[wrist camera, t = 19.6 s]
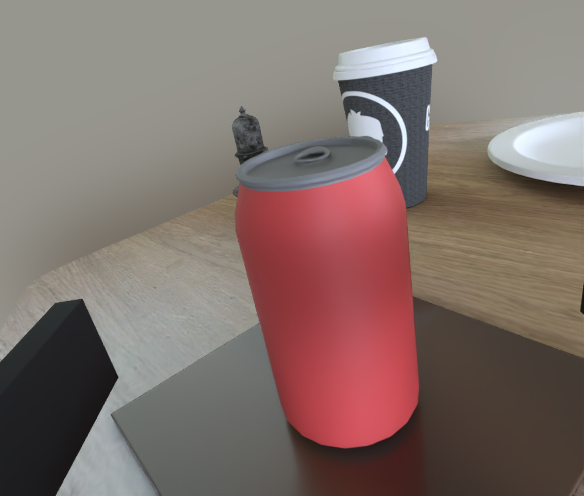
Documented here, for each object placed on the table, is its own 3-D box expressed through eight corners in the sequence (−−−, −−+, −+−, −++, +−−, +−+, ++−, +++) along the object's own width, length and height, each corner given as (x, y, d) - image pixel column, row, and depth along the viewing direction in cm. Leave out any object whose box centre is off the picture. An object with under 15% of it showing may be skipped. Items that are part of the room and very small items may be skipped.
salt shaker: (278, 203, 51) (257, 99, 46) (300, 214, 46) (279, 100, 41) (233, 218, 49) (205, 112, 44) (251, 232, 44) (222, 114, 39)
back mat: (369, 844, 10) (366, 836, 9) (114, 421, 23) (110, 413, 23) (636, 388, 19) (638, 377, 19) (344, 277, 32) (343, 270, 32)
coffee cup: (448, 210, 40) (443, 35, 34) (347, 220, 42) (325, 58, 36) (435, 179, 48) (430, 34, 42) (351, 189, 51) (334, 53, 44)
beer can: (414, 350, 23) (396, 124, 18) (428, 459, 17) (408, 168, 12) (294, 354, 24) (247, 146, 19) (270, 456, 18) (193, 195, 13)
